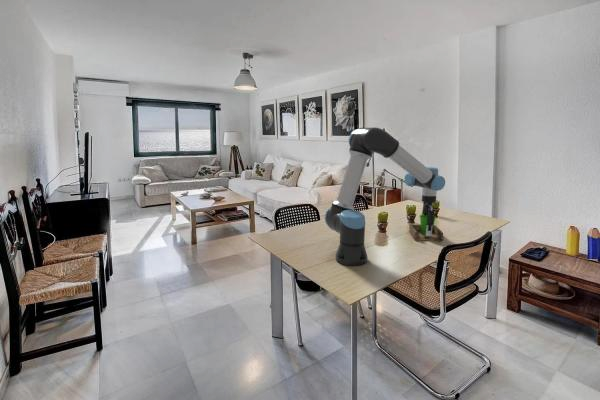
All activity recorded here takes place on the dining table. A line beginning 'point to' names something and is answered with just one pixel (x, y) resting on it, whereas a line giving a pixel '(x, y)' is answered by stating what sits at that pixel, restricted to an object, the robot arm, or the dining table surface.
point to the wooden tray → (417, 236)
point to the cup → (424, 224)
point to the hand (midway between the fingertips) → (426, 233)
